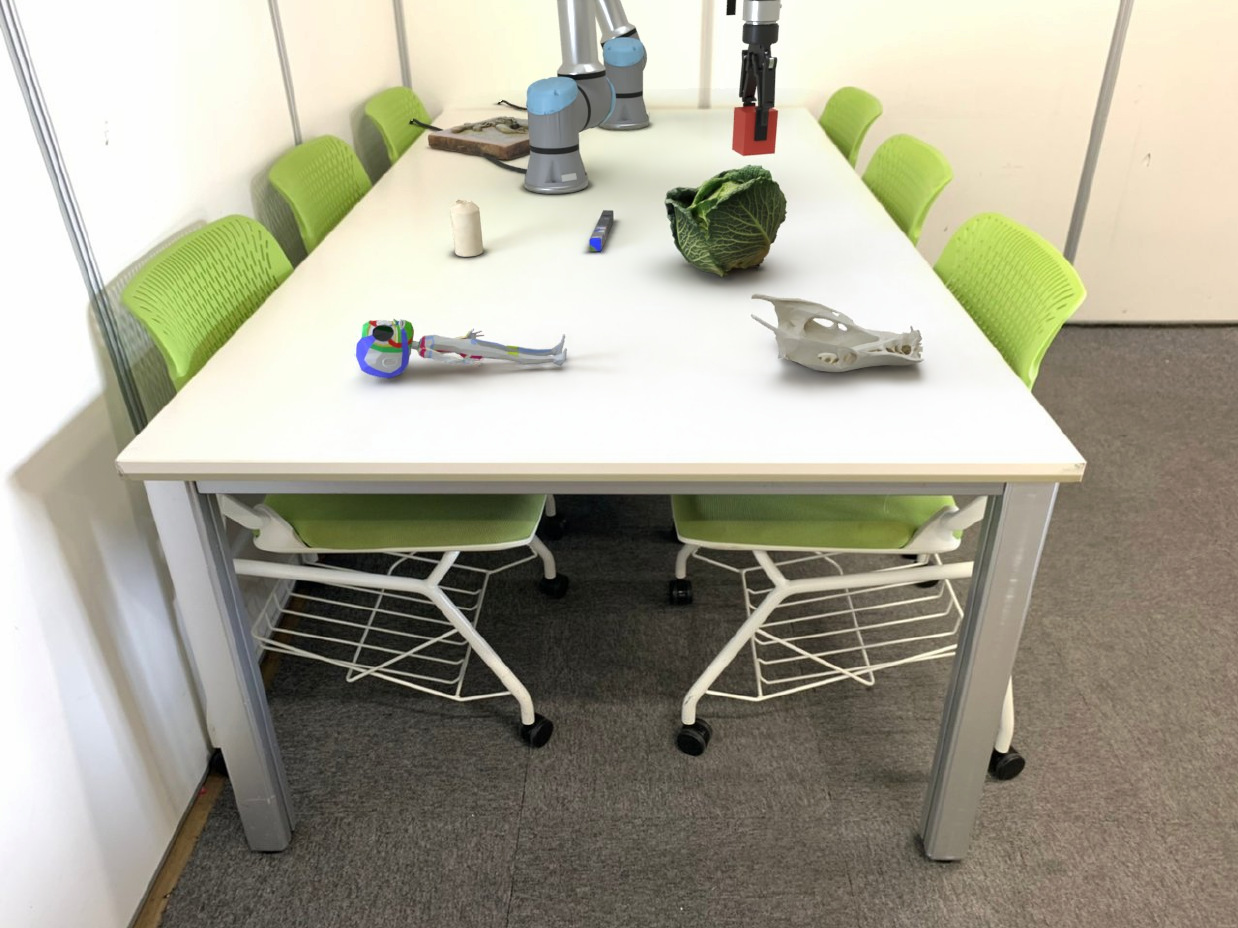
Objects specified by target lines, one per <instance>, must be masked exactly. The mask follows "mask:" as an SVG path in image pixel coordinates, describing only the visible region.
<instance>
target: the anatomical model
mask: <svg viewBox="0 0 1238 928" xmlns="http://www.w3.org/2000/svg"><path fill="white" fill-rule="evenodd" d="M750 298H751V300H762V301H766V302H770V303H771V305H773V307H774V313H775V314H776V318H777V327H776V326H774V325H772V324H770V323H768V322H767V321H765V320H763V319H762V318H761V317H758V316H757V315H755V314H753V313H751V314H750V317H751V319H753V320H755V321H756V322H758V323H760V324H761V325H762V326H764V327H766V328H767V329H769V330H770V331H772V332H773V334H774V336H775V337H774V338H775V341H776V344H777V351H778V353H777V358H778V359H782V360H788V361H792V362H794V363H798V364H800V365H802V366H803V367H805V368H808V369H811V370H812V371H821V372H828V373H844V372H849V371H853V370H857V369H862V368H868V367H877V366H878V367H880V366H912V365H915V364H919V363H922V362H924V361H925V359H924V358H921V357H922V356H921V353H923V351H924V346H921V345H922V343H921V341H922V340H923V337H922V334H921V331H920V330H919V329H916V330H914V327H913V325H910V327H909V329H910V332H902V333H896V332H893V331H884V330H876V329H870V328H864V327H862V326H860V325H858V324H855V322H854V320H853V319H852V318H850V317H849V316H848V315H846V314H844V313H843V312H841V311H838V310H836V309H833V308H831V307H829V306H826V305H824V304H822V303H820V302H819V303H818V302H816V301H815V302H814V301H811V300H806V299H802V298H799V297H777V296H771V295H766V294H761V293H753V294H752V295H751V297H750ZM836 314H838V315H836ZM815 319H819V320H820V319H821V320H822V319H823V320H826V321H830V322H831V323H832V325H830V326H825V325H823V324H820V323H819V322H817V321H815ZM839 325H843V326H844V327H845V328H846V330H844V329H842V328H840V327H839Z"/></svg>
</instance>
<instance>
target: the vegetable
mask: <svg viewBox="0 0 1238 928" xmlns="http://www.w3.org/2000/svg"><path fill="white" fill-rule="evenodd" d="M665 196H666V197H665V199H664V205H665V208H666V209H665V210H666V218H667V219H668V221H669V222H670V224H669V228H670V231H671V236H672V238H673V239H674V240H673V243H674V245H675V247H676V249H677V250H678V252H680V255H681V256H682V257H683V258H684V259H685V261H686V262H687V263H688V264H689V263H691V264H692V265H693V266H694V267H695V268H696V269H699V270H700V271H702V272H704V273H708V274H714V275H715V274H716V275H718V276H719V277H721V278H723V277H724V276H730V274H729V273H728V272H729V271H732V270H734V269H740V268H742V269H747V268H748V267H754V268H756V267H757V268H760V266H761V264H763V263H764V261H765V258H766V257H767V256H768V255H769V253H770V250H771V245H772V244H774V243H775V241H776V239H777V236H778V235H777V234H778V231H779V229H780V227H781V225H782V224H783V223H784V222H786V218H787V216H786V214H787V213H788V211H787V203H788V201H787V199H786V196H785V194H784V192H783V191H782V189H781V188H780V184H779V183H778V181H777V180H774V179H773V176H772V173H771V171H770V170H768V169H765V168H763V165H755V164H754V165H751V164H748V165H745V166H743V167H742V168H732V169H729V170H723V171H721V172H720V173H718V174H716V175H714V176H713V177H711V178H709V179H707V180H704V181H703V182H702V184H701V185H700V186H698V187H684V186H677V187H674V188H672V189H670V190H668V191H667V192H666V194H665Z"/></svg>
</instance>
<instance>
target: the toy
mask: <svg viewBox="0 0 1238 928" xmlns="http://www.w3.org/2000/svg"><path fill="white" fill-rule="evenodd" d="M474 331H475V328H472V329H471V330H469V331H468V332H467V333H466V334H465V335H463V336H458V337H449V336H448V337H447V336H442V335H439V334H428V335H423V336H421V338H420V339H419V341H417V340H414V336H415V329H414V326H413V324H412V322H410V321H408V320H407V319H399V320H397V319H395V318H392V320H387V319H379V320H368V321H367V322H365V323H364V324H362V326H361V329H360V331H359V333H358V334H357V338H356V340H355V342H354V354H353V355H354V357H355V359H356V362H357V364H358V366H359V369H360V370H361V372H364V373H366V374H367V375H370V376H373V377H377V378H382V379H383V378H384V379H392V378H394V377H396V376H398V375H400V374H401V375H402V374H403V372H404V371H405V370H406V368H407V367H408V366H409V364H410V357H411V355H412V350H415V351H417V353H418V356H419V357H421V358H422V359H430V360H434V361H438V362H442V363H444V364H449V365H458V364H459V365H461V364H465V365H471V366H477V367H479V368H480V367H481V366H482V365H483V363H482V362H478V361H480V360H482V359H487V360H488V359H489V360H503V361H509V362H514V363H517V364H520V365H528V366H529V365H542V364H550V363H553V364H555V365H557V366H559V367H562V366H563V364H564V362H565V361H566V360H567V357H568V355H567V353H568V348H566V347H565V348H564V345H565V340H566V334H565V333H563V334H562V338H561V340H560V341H559V343H558V344H556V345H555V346H554V347H552V348H533V347H532V348H531V347H523V346H518V345H517V346H516V345H504V344H501V343H498V342H494V341H488V340H482V339H478V338H479V337H480V338H481V337H485V334H480V333H482V332H483V331H482V330H479V331H476V332H474ZM563 349H564V350H563ZM453 353H455V354H457V355H459V357H458V356H455V355H448V354H453ZM445 354H447V355H445Z"/></svg>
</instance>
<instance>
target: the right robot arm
mask: <svg viewBox="0 0 1238 928" xmlns="http://www.w3.org/2000/svg"><path fill="white" fill-rule="evenodd" d="M742 3H743V4H742V11H743V10H744V2H742ZM594 4H595V18H596V23H597V25H598V27H599V29H600V32H601V38H600V39H599V44H600V47H601V50H602V58H603V65H604V66H605V70H606V77H607V78H608V79H609V81H610V83H612V85H613V87H614V90H615V95H616V103H615V107H614V110H613V113H612V114H611V116H610V117H609V118H608V119H607V120H606V121H605V122H603V123H602V124H600V125H599V126H598V127H600V128H602V129H605V130H612V131H634V130H640V129H645V128H647V127H649V125H650V115H649V113H647V108H646V104H645V100H644V71H645V68H646V66H647V61H648V53H647V50H646V47H645V45H644V43H643V42H642V41H641V38H640V35H639V32H638V30H637V27H636V26H635V25H634V24H633V23H630V22H629V19H628V17H627V14H626V12H625V9H624V6H623V3H622V1H621V0H594ZM725 12H726V13H725V16H736V15H737V13H736V12H737V0H726V11H725ZM501 100H502V101H501V102H499V101H498V102H497V105H499V106H500V105H501V104H503V103H504V104H506V105H507V106H509V107H512V108H514V109H518V110H521V111H526V112H527V107H524V106H519V105H516V104H513V103H510V102H509V101H507V100H506V99H501Z"/></svg>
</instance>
